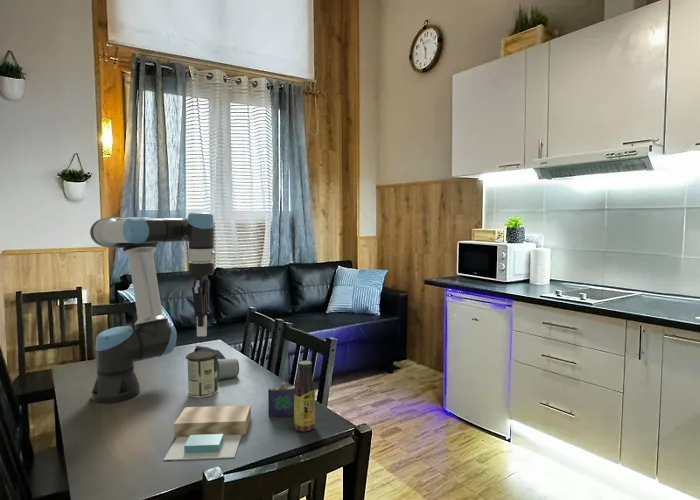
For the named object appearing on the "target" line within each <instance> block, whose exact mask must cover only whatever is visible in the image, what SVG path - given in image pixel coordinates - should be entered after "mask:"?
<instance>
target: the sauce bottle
mask: <svg viewBox="0 0 700 500" xmlns="http://www.w3.org/2000/svg"><path fill="white" fill-rule="evenodd" d="M297 366H298V379H297V380H296V382H295V383H294V386H295V393H294V416H293V426H294V429H295V431H298V432H303V433H304V432H309V431H312V430H313V429H314V426H315V423H316V422H315V421H316V415H315V414H316V387H315V384H314V381H313V378H312V368H313V362H312V361H310V360H302V361H299V362H298V365H297Z"/></svg>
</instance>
